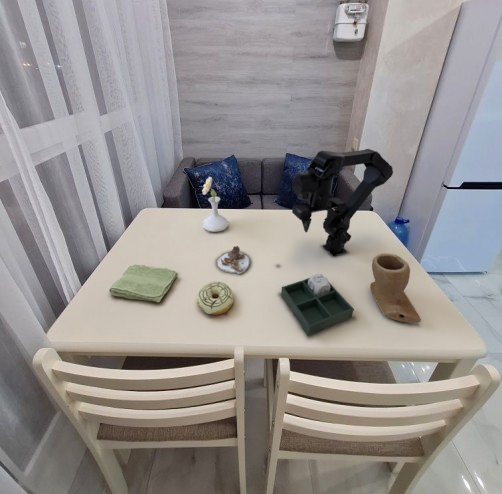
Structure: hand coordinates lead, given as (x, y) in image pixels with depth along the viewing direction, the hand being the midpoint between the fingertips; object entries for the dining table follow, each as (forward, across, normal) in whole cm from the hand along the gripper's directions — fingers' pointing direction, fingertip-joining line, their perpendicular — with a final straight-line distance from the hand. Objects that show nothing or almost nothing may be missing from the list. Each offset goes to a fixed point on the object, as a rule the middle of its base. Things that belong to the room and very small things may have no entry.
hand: (316, 229), depth 94 cm
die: (+12, +9, +16) cm, 22 cm away
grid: (+12, +13, +20) cm, 26 cm away
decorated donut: (+12, +40, +7) cm, 42 cm away
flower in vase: (+12, +29, -32) cm, 45 cm away
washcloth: (+12, +59, -8) cm, 61 cm away
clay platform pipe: (+12, -8, +27) cm, 31 cm away
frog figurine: (+12, +29, -8) cm, 32 cm away
